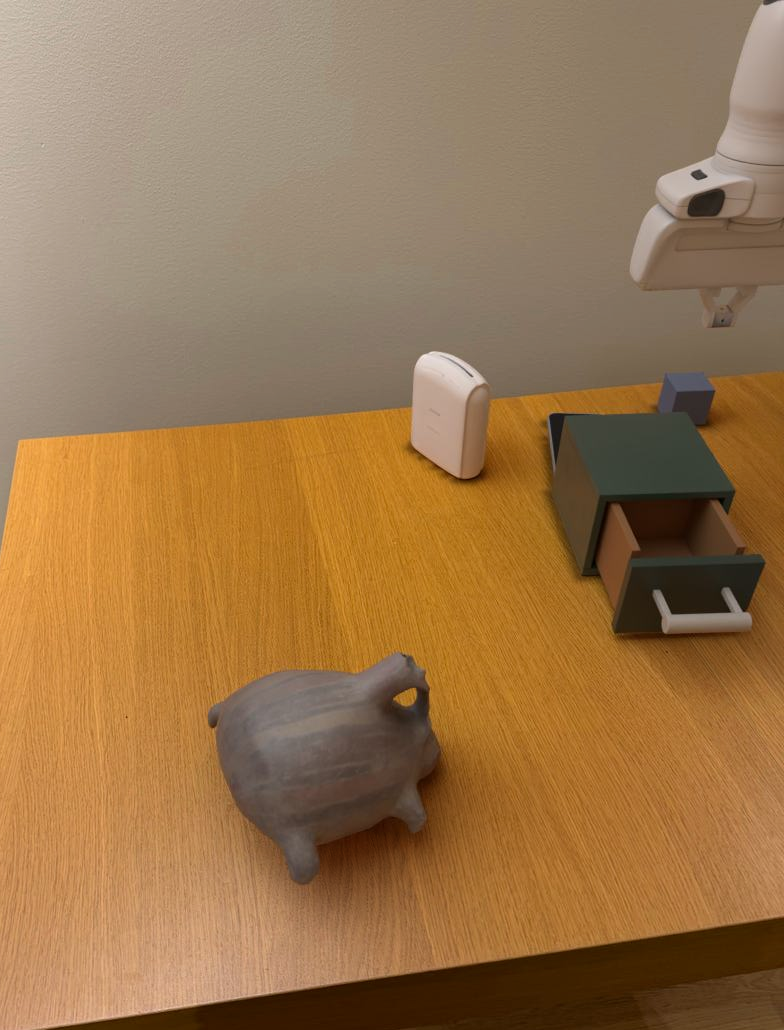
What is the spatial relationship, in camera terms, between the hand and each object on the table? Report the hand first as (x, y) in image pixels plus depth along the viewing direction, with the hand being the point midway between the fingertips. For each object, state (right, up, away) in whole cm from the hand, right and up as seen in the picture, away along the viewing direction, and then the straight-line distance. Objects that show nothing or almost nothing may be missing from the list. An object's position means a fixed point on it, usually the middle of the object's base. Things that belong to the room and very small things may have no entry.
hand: (717, 325), depth 97 cm
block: (+3, -5, +17) cm, 18 cm away
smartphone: (-11, -11, +11) cm, 19 cm away
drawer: (-10, -29, -10) cm, 32 cm away
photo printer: (-27, -12, +11) cm, 31 cm away
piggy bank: (-41, -46, -24) cm, 66 cm away
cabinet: (-10, -22, 0) cm, 24 cm away
